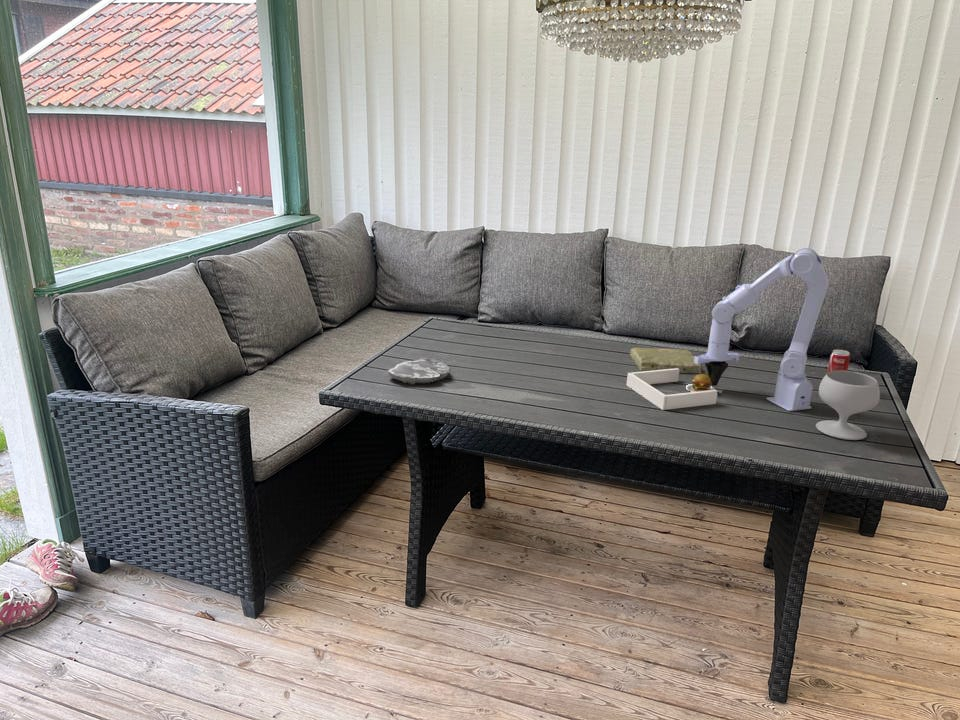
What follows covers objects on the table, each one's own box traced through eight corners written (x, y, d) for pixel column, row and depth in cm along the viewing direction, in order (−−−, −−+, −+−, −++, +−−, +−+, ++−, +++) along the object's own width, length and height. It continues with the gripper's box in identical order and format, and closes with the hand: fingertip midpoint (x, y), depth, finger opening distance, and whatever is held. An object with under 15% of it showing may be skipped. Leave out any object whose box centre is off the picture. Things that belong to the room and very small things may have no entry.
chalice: (824, 416, 191) (834, 365, 187) (878, 432, 182) (890, 379, 177) (802, 430, 182) (812, 376, 177) (859, 448, 173) (871, 391, 168)
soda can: (826, 384, 216) (833, 347, 212) (844, 388, 213) (852, 351, 209) (822, 389, 212) (830, 352, 208) (841, 393, 209) (849, 355, 205)
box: (715, 403, 198) (717, 390, 197) (662, 410, 193) (664, 396, 192) (676, 380, 216) (677, 368, 215) (626, 385, 211) (627, 372, 210)
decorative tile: (629, 355, 240) (630, 345, 239) (687, 357, 240) (688, 347, 239) (639, 373, 223) (640, 363, 222) (702, 375, 223) (703, 365, 221)
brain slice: (422, 392, 202) (422, 383, 201) (380, 379, 211) (380, 370, 210) (463, 375, 217) (464, 366, 216) (423, 363, 226) (423, 355, 225)
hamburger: (675, 394, 206) (677, 377, 204) (684, 382, 216) (686, 365, 214) (717, 402, 201) (719, 384, 199) (724, 389, 211) (727, 372, 209)
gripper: (731, 335, 210) (725, 378, 214) (690, 339, 206) (684, 382, 210) (746, 342, 204) (739, 385, 208) (704, 346, 199) (698, 390, 204)
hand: (713, 384), depth 209 cm, fingers closed
